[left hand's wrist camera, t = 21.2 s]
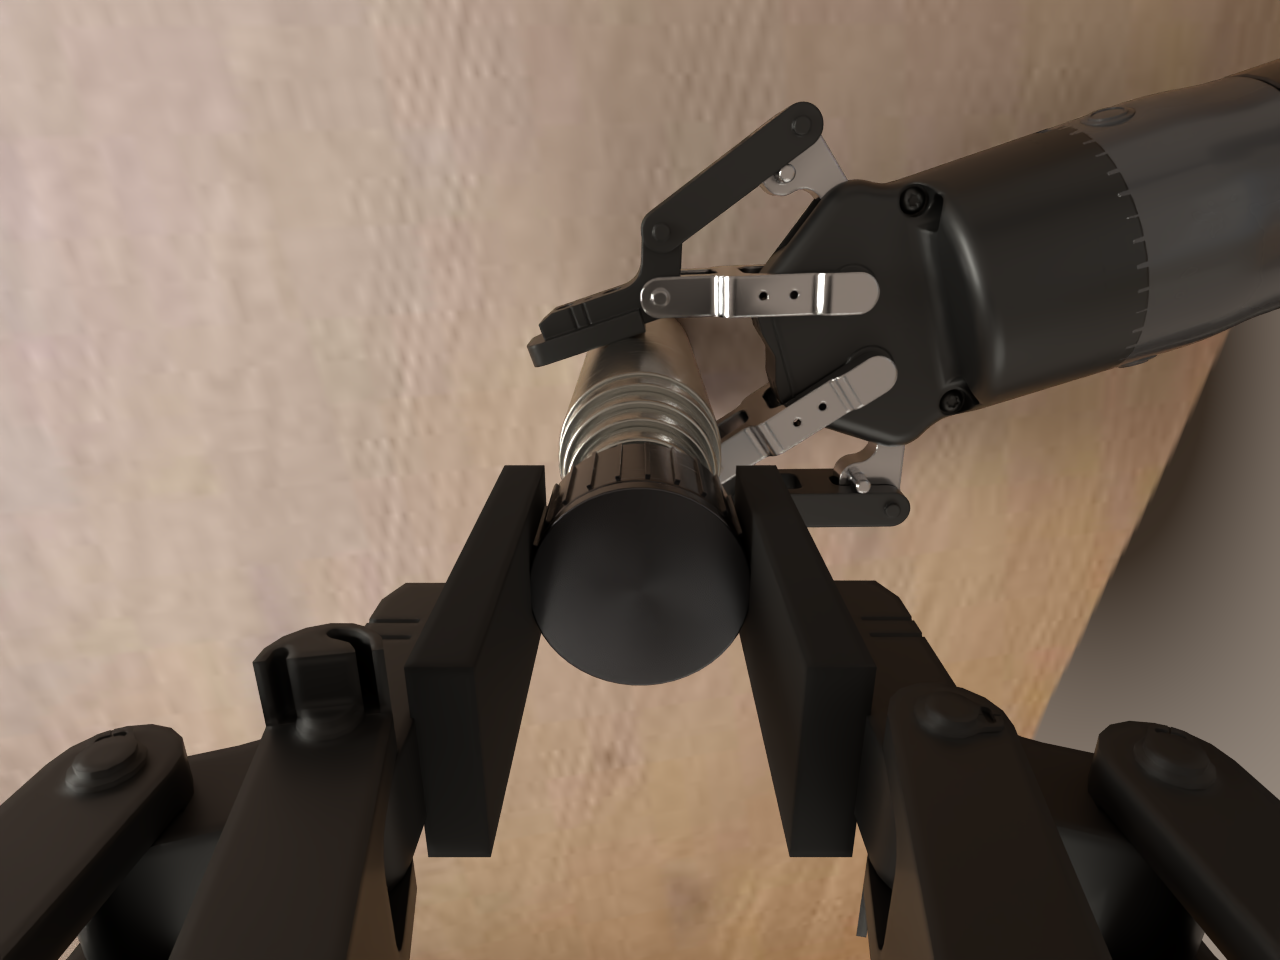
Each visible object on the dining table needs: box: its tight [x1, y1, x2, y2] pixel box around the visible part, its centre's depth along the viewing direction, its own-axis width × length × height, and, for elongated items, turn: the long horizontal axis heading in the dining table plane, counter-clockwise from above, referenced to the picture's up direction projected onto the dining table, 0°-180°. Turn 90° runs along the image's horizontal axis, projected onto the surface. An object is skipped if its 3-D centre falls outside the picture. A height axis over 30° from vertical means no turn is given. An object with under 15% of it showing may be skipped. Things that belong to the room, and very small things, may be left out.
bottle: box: [559, 318, 722, 480], centre depth 22 cm, size 4×4×19 cm
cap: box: [530, 442, 751, 685], centre depth 14 cm, size 4×4×2 cm
